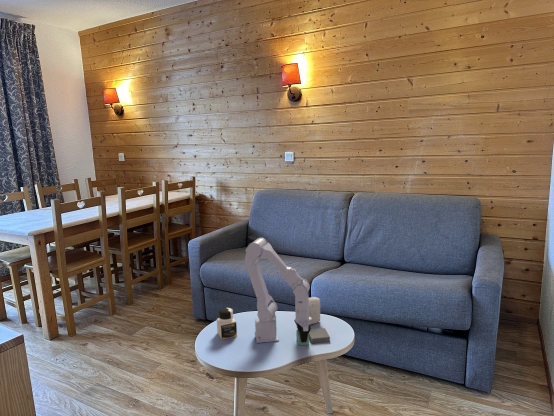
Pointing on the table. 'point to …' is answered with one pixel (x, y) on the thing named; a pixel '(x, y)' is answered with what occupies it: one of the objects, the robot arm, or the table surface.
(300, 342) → the cube
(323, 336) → the base
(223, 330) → the medicine bottle
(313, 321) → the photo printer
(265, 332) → the robot arm
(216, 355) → the table surface
